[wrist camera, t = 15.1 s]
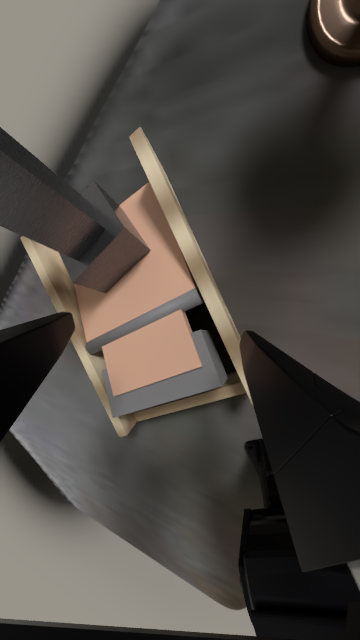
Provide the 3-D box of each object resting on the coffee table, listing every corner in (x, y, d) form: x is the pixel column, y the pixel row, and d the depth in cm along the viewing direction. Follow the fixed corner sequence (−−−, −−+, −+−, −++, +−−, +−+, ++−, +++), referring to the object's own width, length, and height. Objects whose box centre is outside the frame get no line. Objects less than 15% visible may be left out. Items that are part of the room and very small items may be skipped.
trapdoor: (237, 374, 17) (233, 384, 14) (127, 408, 22) (101, 422, 18) (167, 204, 22) (150, 177, 19) (90, 259, 27) (63, 246, 23)
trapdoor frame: (257, 374, 20) (266, 402, 15) (140, 408, 26) (119, 437, 21) (163, 167, 19) (140, 126, 14) (62, 248, 25) (20, 237, 20)
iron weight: (150, 250, 18) (-48, 77, 6) (105, 293, 20) (-117, 223, 8) (122, 208, 20) (-68, 19, 8) (83, 250, 22) (-118, 145, 10)
